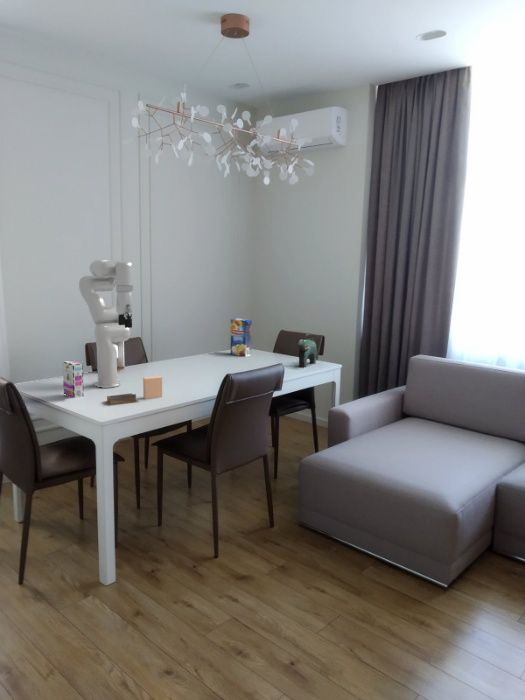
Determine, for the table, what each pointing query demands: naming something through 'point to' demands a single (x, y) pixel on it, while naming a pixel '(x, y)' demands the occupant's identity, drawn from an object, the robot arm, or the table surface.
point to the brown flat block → (121, 399)
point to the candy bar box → (73, 378)
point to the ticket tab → (152, 387)
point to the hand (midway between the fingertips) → (125, 326)
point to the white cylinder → (119, 355)
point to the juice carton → (241, 337)
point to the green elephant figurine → (307, 351)
